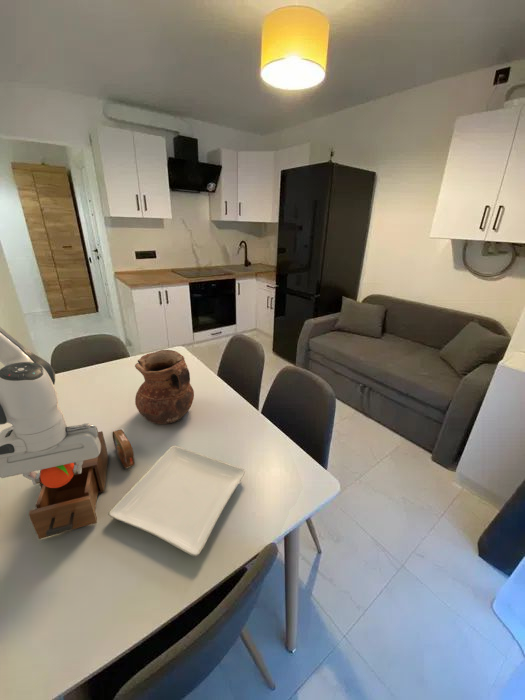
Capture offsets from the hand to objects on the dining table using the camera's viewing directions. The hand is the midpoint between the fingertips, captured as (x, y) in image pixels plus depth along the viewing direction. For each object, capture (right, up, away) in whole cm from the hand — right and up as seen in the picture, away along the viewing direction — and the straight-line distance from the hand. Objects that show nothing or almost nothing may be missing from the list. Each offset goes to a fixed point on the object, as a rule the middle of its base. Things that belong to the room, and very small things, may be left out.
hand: (58, 477), depth 70 cm
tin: (+4, -5, +26) cm, 27 cm away
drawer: (-1, -13, +6) cm, 14 cm away
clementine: (0, -2, +1) cm, 3 cm away
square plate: (+27, -12, +13) cm, 32 cm away
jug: (+11, +5, +48) cm, 49 cm away
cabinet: (-5, -8, +17) cm, 20 cm away
